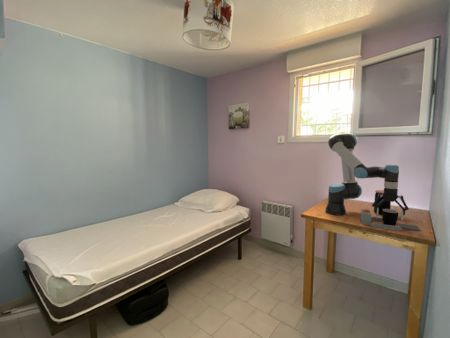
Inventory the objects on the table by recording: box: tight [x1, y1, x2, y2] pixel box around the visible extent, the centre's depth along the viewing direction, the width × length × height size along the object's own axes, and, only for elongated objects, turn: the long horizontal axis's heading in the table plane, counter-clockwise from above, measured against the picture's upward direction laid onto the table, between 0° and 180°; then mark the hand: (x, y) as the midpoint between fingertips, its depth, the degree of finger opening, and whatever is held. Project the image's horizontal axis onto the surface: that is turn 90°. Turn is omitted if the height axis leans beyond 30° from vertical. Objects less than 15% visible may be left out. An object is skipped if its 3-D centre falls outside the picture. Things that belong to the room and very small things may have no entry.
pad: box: [398, 222, 422, 232], centre depth 151 cm, size 10×10×1 cm
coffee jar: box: [373, 189, 392, 216], centre depth 180 cm, size 11×11×18 cm
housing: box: [359, 208, 403, 232], centre depth 157 cm, size 22×16×8 cm
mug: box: [381, 208, 399, 226], centre depth 155 cm, size 12×9×10 cm
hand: (389, 218), depth 155 cm, fingers open, 13 cm apart
